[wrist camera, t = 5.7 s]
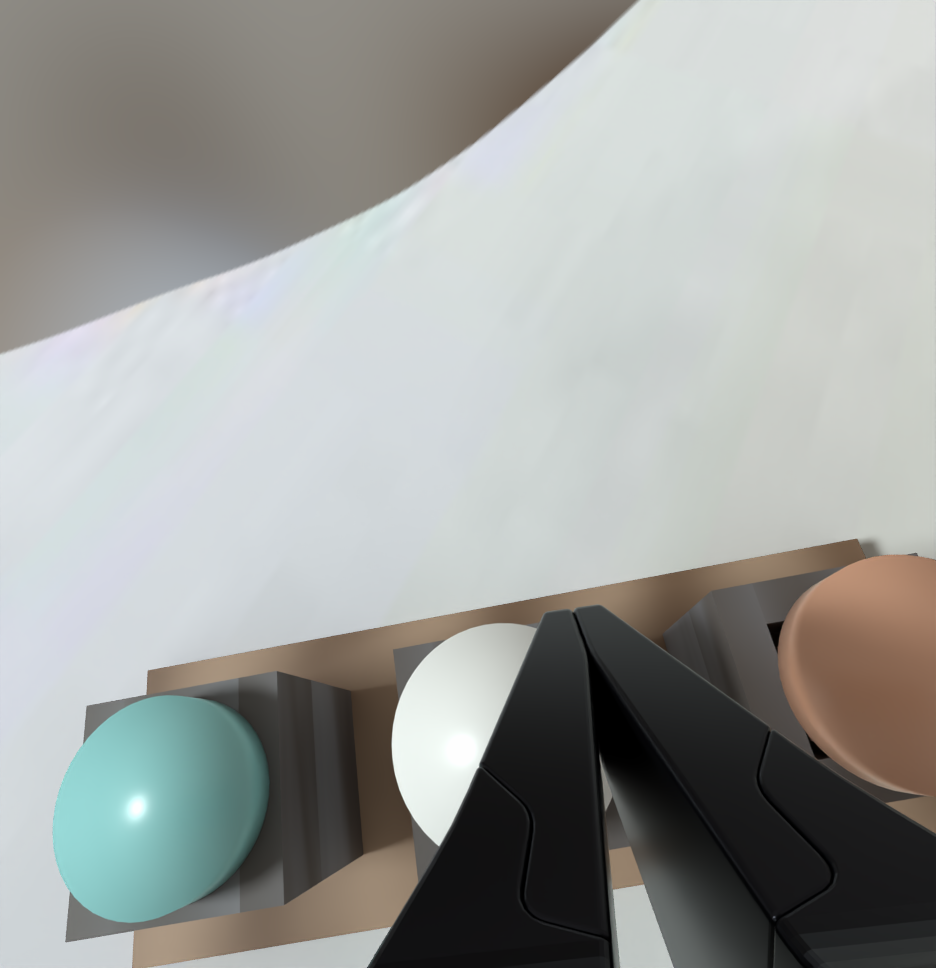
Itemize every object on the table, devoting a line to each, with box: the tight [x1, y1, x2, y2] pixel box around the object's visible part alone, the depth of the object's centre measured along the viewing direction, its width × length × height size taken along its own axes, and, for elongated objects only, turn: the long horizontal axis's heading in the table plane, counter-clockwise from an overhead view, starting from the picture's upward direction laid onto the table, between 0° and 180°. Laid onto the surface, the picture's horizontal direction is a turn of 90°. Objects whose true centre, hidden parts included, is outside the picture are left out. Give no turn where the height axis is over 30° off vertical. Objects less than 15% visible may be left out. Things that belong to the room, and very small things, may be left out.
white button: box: [392, 623, 612, 846], centre depth 13 cm, size 4×4×4 cm
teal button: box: [53, 695, 270, 923], centre depth 15 cm, size 4×4×4 cm
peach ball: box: [777, 555, 936, 797], centre depth 13 cm, size 4×4×4 cm
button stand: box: [65, 539, 936, 968], centre depth 17 cm, size 26×9×8 cm, turn 99°
